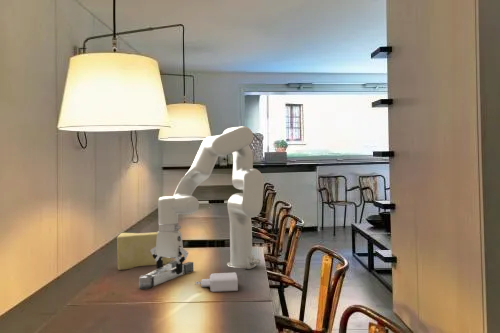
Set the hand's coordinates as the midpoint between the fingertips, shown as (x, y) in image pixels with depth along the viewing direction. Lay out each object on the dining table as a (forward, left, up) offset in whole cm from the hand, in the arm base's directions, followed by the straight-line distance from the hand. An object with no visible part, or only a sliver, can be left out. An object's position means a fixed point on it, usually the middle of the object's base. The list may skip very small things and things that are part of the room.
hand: (169, 272), depth 165 cm
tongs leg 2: (-3, +1, -2) cm, 3 cm away
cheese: (+21, -12, -3) cm, 25 cm away
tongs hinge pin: (0, +15, -2) cm, 15 cm away
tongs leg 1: (+3, +1, -2) cm, 3 cm away
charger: (-23, +4, -3) cm, 23 cm away
